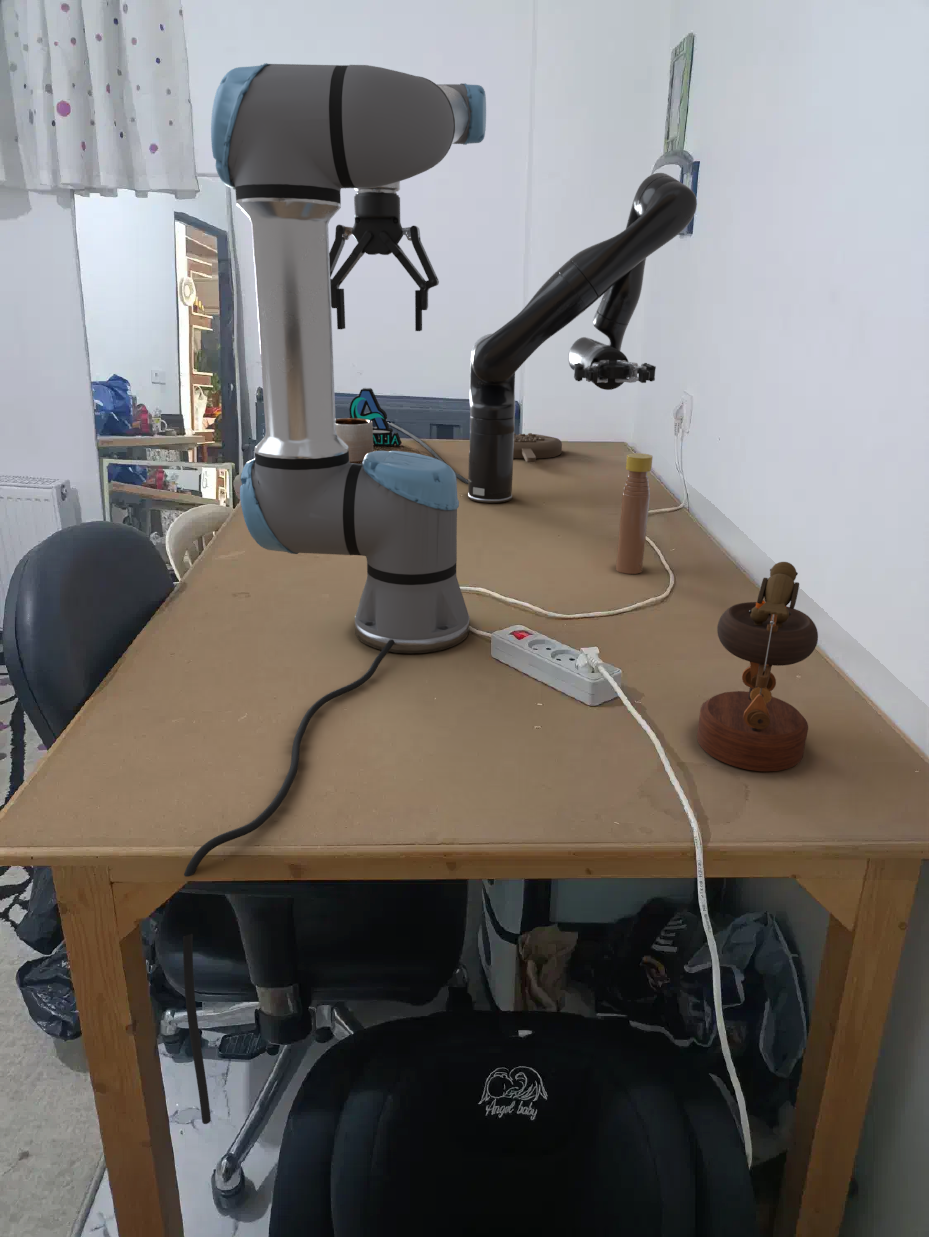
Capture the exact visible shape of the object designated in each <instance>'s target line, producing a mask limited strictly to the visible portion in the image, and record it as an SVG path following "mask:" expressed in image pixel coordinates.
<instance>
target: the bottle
mask: <svg viewBox="0 0 929 1237" xmlns="http://www.w3.org/2000/svg"><path fill="white" fill-rule="evenodd" d="M626 478H627V479H626V480H625V483H624V486H623V489H622V495H621V506H620V518H619V530H618V540H617V551H616V561H615V570H616V571H617V572H619V573H622V574H626V575H636V574H637V575H638V574H640V573H642V572H643V569H644V568H643V567H644V558H645V557H644V556H645V548H646V538H647V529H648V518H649V508H650V498H651V494H650V492H651V489H650V485H649V482H650V481H649V476H648V472H634V471H629V470H628V475H627V477H626Z"/></svg>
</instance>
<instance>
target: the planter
mask: <svg viewBox="0 0 929 1237" xmlns="http://www.w3.org/2000/svg"><path fill="white" fill-rule="evenodd" d="M335 420H336V434H337V435H338V437H339V438H340V439H341V440H342V441H343V442H344V443H345V444H346V445H347V446H348V448H349V462H350V463H354V464H362V462H363V460H364V458H365V456H366V455H367V454H368V453H370V452H374V450H375V449H374V444H373V427H374V426H373V421H371V420H368V419H362V418H350V417H342V418H341V417H340V418H335Z"/></svg>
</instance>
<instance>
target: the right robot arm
mask: <svg viewBox="0 0 929 1237" xmlns="http://www.w3.org/2000/svg"><path fill="white" fill-rule="evenodd" d="M697 206H698V199H697V196H696V194H695V192H694V191H693V190H692V189H691V188H690V187H689V186H687V185H686V184H684V183H682V182H681V181H679V180H678V179H676V178H674V177H673V176H671V175H669V174H667V173H664V172H655V173H652V174H651V175H648V176H647V177H646V178H645V179H644V180H643V181H642V182H641V183H640V185H639V186H638V188H637V190H636V192H635V195H634V198H633V201H632V204H631V208H630V211H629V214H628V218H627V222H626V227H625V229H624V230H622V231H621V232H619V233H618V234H617V235H614V236H612V237H610V238H608V239H605V240H603V241H600V242H598V243H595V244H593V245H591V246H589V247H586V248H584V249H582V250H580V251H579V252H577V253H575V254H573V256H572V257H570V258H569V259H568V260H567V261H566V262H565V263H564V264H562V265H561V266H560V267H559V268H558V269H557V270H556V271H555V272H553V274H552V275H550V277H549V278H548V279H547V280H546V281H545V282H544V283H543V284H542V285H541V287H540V288H539V289H537V291H536V292H535V294H534V295H533V296H532V298H531V299H530V300H529V301H528V303H527V304H526V305H525V306H524V307H523V308H522V310H520V312H518V313H517V315H515V316H514V317H513V318H511V319H510V320H509V321H507V323H505V324H504V325H503V326H502V327H500V328H498V329H497V330H496V331H494V332H493V333H488V334H484V335H483V336H481V337H480V338H478V339H477V340H476V341H475V343H474V344H473V346H472V349H471V350H470V351H471V352H470V360H469V361H470V362H469V363H470V364H469V372H470V373H469V443H468V444H469V446H468V447H469V451H468V476H467V477H468V478H465V477H464V476H463V475H461V474H460V473H458V472H456V470H455V469H453V471H454V473H455V475H456V479H458V480H459V481H461V482H462V483H464V484H465V485H467V498H468V499H469V500H470V501H473V502H478V503H484V504H500V503H506V502H509V501H511V500H512V499H513V472H514V471H513V470H514V458H513V448H514V433H515V420H516V416H515V415H516V392H515V391H516V390H515V389H516V386H515V385H516V373H517V371H518V370H519V368H520V367H522V365H523V364H524V363H525V362H526V361H527V360H528V359H529V358H530V357H531V356H532V355H533V354H534V352H535V351H537V349H539V348H540V347H541V346H542V345H543V344H544V343H545V342H546V341H548V339H550V338H551V337H553V336H554V335H555V334H557V333H558V332H560V331H561V330H562V329H564V328H565V327H566V326H568V325H569V324H570V323H572V321H574V320H575V319H576V318H578V317H579V316H580V315H582V314H583V313H584V312H585V311H587V309H589V308H590V307H591V306H592V305H593V304H594V303H595V302H596V301H598V300H599V299H601V300H600V302H599V305H598V307H597V308H596V310H595V314H594V316H593V319H592V326H593V327H594V328H595V329H596V330H597V331H599V332H600V333H601V334H603V335H604V336H606V337H607V339H608V340H609V341H608V342H609V343H608V344H605V343H603V342H600V341H597V340H595V339H592V338H590V337H586V336H583V337H580V338H577V340H575V341H574V342H573V343H572V345H571V347H570V348H569V352H568V358H567V361H568V365H569V367H570V368H571V370H573V371H574V372H573V378H574V380H575V381H577V382H581V381H583V379H585V381H586V382H588V383H592V384H594V385H595V386H596V387H598V388H599V389H601V390H606V391H612V390H615V389H618V388H620V387H621V386H622V385H623V384H624V383H630V384H633V383H636V382H639V383H641V384H646V383H647V381H649V382H654V381H655V380H656V369H657V366H656V365H653V364H650V363H647V362H644V363H641V364H640V365H639V364H638V362H632V361H629V359H628V357H627V356H626V354H625V353H624V352H622V351H621V350H622V345H623V340H624V337H625V333H626V330H627V328H628V325H629V323H630V321H631V319H632V317H633V315H634V312H635V310H636V308H637V306H638V304H639V301H640V298H641V294H642V288H643V284H644V282H643V281H644V275H645V267H646V261H647V258H648V257H649V256H650V255H652V254H654V253H655V252H657V251H658V250H659V249H661V248H662V247H663V246H665V245H666V244H668V243H669V242H670V241H672V240H673V239H675V238H676V237H677V236H679V235H680V234H681V233H682V232H684V230H685V229H686V228H687V227H688V225H689V224H690V223H691V221H692V220H693V219H694V216H695V214H696V212H697ZM387 423H388V425H389V427H391V428H394V429H396V430H398V431H400V432H402V433H403V434H404V435H407V436H409V437H410V438H411V439H413V440H414V441H416V442H417V443H418V444H420V445H421V446H422V447H423V448H425V449H426V450H427V451H428V453H429V454H431V455H432V456H433V458H435V459H438V460H440V461H442V462H444V463H446V461H445V460H444V459H442V457H440V455H439V454H437V453H436V452H435V450H434V449H432V448H431V447H430V446H429V445H427V443H426V442H424V441H423V440H422V439H420V438H419V437H417V436H416V435H414V434H413V433H411V432H410V431H409V430H407V429H404V428H403V427H401V426H399V425H397V424H395V423H393V422H391V423H389V422H387ZM446 464H447V465H449V464H448V463H446Z"/></svg>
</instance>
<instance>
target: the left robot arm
mask: <svg viewBox="0 0 929 1237" xmlns="http://www.w3.org/2000/svg"><path fill="white" fill-rule="evenodd" d="M210 119H211V122H210V138H211V139H210V140H211V141H210V142H211V151H212V157H213V159H214V160H215V170H216V172H217V175H218V177H219V179H220V181H221V182H222V183H223V184H224V185H225V186H227V187H228V188H232V189H233V190H234V191H235V204H236V206H237V207H238V208H240V209H241V211H242V212H243V213H244V214H245V215H246V216H247V218H249V221H250V222H251V233H252V234H251V235H252V249H253V262H254V263H253V264H254V278H255V292H256V307H257V322H258V337H259V353H260V366H261V367H260V368H261V381H262V382H261V383H262V396H263V411H264V412H263V413H264V427H265V435H264V436H263V438H262V439H260V441H259V442H258V443H257V444H256V446H254V458H253V459H251V460H249V461H247V462H246V463H245V464H244V466H243V468H242V470H241V475H240V482H241V485H240V486H239V500H240V506H241V511H242V515H243V519H244V523H245V526H246V528H247V530H248V533H249V535H250V536H251V537H252V539H253V540H254V541H255V542H256V544H257V545H258V546H260V547H261V548H263V549H265V550H267V551H272V552H273V551H274V552H283V553H288V554H292V555H298V554H312V555H313V554H316V555H317V554H318V555H338V556H340V555H341V556H362V557H365V558H366V579H365V584H364V586H363V589H362V592H361V596H360V600H359V602H358V606H357V609H356V612H355V615H354V633H355V636H356V638H357V639H358V640H359V641H360V642H362V643H363V644H365V645H367V646H368V647H371V648H374V649H377V650H380V651H379V653H378V654H377V655H376V657H375V658H374V660H373V662H371V665H370V667H369V668H368V670H367V671H366V672H365V673H364V674H363V675H362V676H361V677H359V678H358V679H357V680H355V681H353V682H351V683H349V684H347V685H344V686H342V687H340V688H337V689H335V690H333V691H331V692H329V693H327V694H325V695H324V696H322V697H320V699H318V700H317V701H315V703H313V704H312V705H311V706H310V707H309V709H308V710H307V711H306V713H304V715H303V717H302V720H301V721H300V723H299V726H298V728H297V730H296V733H295V735H294V739H293V742H292V748H291V760H290V765H289V769H288V772H287V775H286V776H285V779H284V781H283V782H282V785H281V786H280V788H279V791H278V792H277V794H276V795H275V797H274V798H273V799H272V801H271V802H270V803H269V804H268V806H267V807H266V808H265V809H264V810H263V811H262V812H260V814H259V815H258V816H257V817H256V818H255V819H253V820H252V821H251V822H248V823H247V824H245V825H243V826H240V827H237V828H234V829H232V830H229V831H226V832H223V833H220V834H219V835H217V836H214V837H213V838H211V839H209V840H208V841H206V842H205V843H204V844H203V845H202V846H201V847H199V849H198V850H197V851H196V852H195V853H194V855H193V856H192V858H191V859H190V861H189V862H188V864H187V866H186V867H185V868H186V869H184V870H185V871H184V874H183V876H184V877H186V878H187V877H188V878H189V877H192V876H193V875H194V874H195V873H196V871H197V868H198V867H199V865H200V863H202V860H203V859H204V858H205V856H207V855H208V853H210V852H211V851H212V850H213V849H215V848H217V847H218V846H221V845H222V844H224V843H228V842H230V841H232V840H236V839H239V838H242V837H243V836H246V835H248V834H250V833H252V832H254V831H255V830H257V829H258V828H260V827H261V826H262V825H263V824H264V823H265V822H266V821H267V820H268V819H270V817H271V816H272V815H273V814H274V813H275V812H276V811H277V810H278V809H279V807H280V806H281V805H282V803H283V802H284V801H285V798H286V797H287V795H288V793H289V791H290V789H291V787H292V786H293V782H294V781H295V778H296V775H297V773H298V768H299V764H300V752H301V751H300V749H301V742H302V741H303V737H304V735H305V732H306V730H307V728H308V725H309V723H310V721H311V719H312V718H313V717H314V715H315V714H316V713H317V711H318V710H319V709H320V708H321V707H323V706H324V705H325V704H326V703H328V702H330V701H332V700H333V699H335V698H338V697H339V696H340V697H341V696H342V695H344V694H347V693H349V692H351V691H353V690H356V689H357V688H359V687H361V686H362V685H363V684H365V683H366V682H367V681H369V680H370V679H371V678H372V676H373V675H374V674H375V673H376V671H377V669H378V668H379V665H380V664H381V662H382V661H383V659H384V658H385V657H386V655H387V654H388V653H389V652H390V653H396V654H397V653H398V654H425V653H433V652H439V651H443V650H446V649H449V648H452V647H455V646H457V645H458V644H460V643H462V642H463V641H464V640H466V639H467V637H468V636H469V634H470V615H469V612H468V608H467V606H466V601H465V599H464V596H463V593H462V589H461V586H460V583H459V581H458V577H457V561H458V560H457V559H458V558H457V557H458V556H457V554H458V552H457V551H458V550H457V547H458V541H457V539H458V538H457V535H458V533H457V532H458V523H457V522H458V508H459V507H460V501H459V499H458V482H457V481H458V480H457V479H458V478H457V477H456V475H455V473H454V471H455V470H454V469H453V467H451V466H450V465H449V464H448V463H447V462H445V461H444V462H445V463H444V462H442V461H440V460H438V459H436V458H435V457H432V456H429V455H425V454H421V453H416V452H410V451H402V450H390V451H387V450H375V451H374V452H370V453H368V454H367V455H366V456H365V458H364V460H363V462H362V463H350V462H349V448H348V446H347V445H346V444H345V443H344V442H343V441H342V440H341V439H340V438H339V437H338V435H337V434H336V420H335V419H336V400H335V399H336V398H335V396H336V394H335V371H334V370H335V366H334V341H333V316H332V309H336V325H337V326H336V329H337V330H345V329H346V311H345V310H346V309H345V307H346V306H345V289H344V288H340V286H341V285H342V283H344V281H345V279H346V278H347V277H348V275H349V274H350V272H351V271H352V270H353V269H354V267H355V266H356V265H357V264H358V262H359V261H360V259H361V258H363V256H364V255H365V254H367V255H371V256H376V255H381V256H389V255H391V254H392V255H393V256H394V257H395V258H396V259H397V260H398V262H399V263H400V264H401V265H402V268H404V269H405V271H406V273H408V275H409V276H410V277H411V279H412V280H413V281H414V283H415V285H417V286H418V288H419V289H416V290H414V303H415V304H414V308H415V309H414V310H415V312H414V317H415V318H414V320H415V321H414V322H415V324H414V326H415V328H414V329H415V332H422V331H423V311H427V310H428V308H429V291H430V289H431V288H434V287H437V286H439V285H440V280H439V278H438V276H437V274H436V271H435V268H434V267H433V265H432V263H431V260H430V258H429V255H428V253H427V251H426V249H425V247H424V245H423V243H422V241H421V232H420V227H419V226H417V225H411V226H408V227H403V226H402V223H401V197H400V195H399V194H398V193H397V192H399V191H400V190H401V182H402V181H406V180H409V179H410V178H414V177H416V176H418V175H420V174H423V173H424V172H427V171H429V170H431V169H432V168H434V167H436V166H437V165H438V164H440V163H441V161H443V159H444V158H445V157H446V156H447V155H448V153H449V151H450V149H451V147H452V145H463V146H467V145H469V144H470V145H471V144H480V143H482V142H483V141H484V139H485V137H486V130H487V128H486V127H487V97H486V91H485V88H484V87H483V86H482V85H479V84H468V83H465V82H464V83H459V84H458V83H449V84H446V83H444V84H440V83H439V84H438V83H437V84H436V82H435V81H432V80H430V79H429V78H426V77H424V76H418V75H415V74H409V73H406V72H403V71H399V70H394V69H390V68H385V67H381V66H375V65H368V64H349V65H348V64H347V65H346V64H343V65H341V64H340V65H339V64H298V63H297V64H295V63H294V64H293V63H292V64H291V63H285V64H284V63H267V62H265V63H263V64H260V65H252V66H239V67H234V68H232V69H230V70H229V71H228V72H227V73H226V74H224V76H223V77H222V78H221V80H220V83H219V85H218V87H217V89H216V92H215V96H214V99H213V104H212V110H211V118H210ZM342 189H354V190H355V191H356V192H357V193H355V195H354V196H353V204H354V206H353V207H354V224H353V226H346V225H343V224H337V225H336V226H335V235H334V240H333V243H332V245H331V248H330V238H329V237H330V236H329V234H330V233H329V223H330V222H331V220H332V218H333V217H334V216H335V215H336V214H337V213H338V212H339V211H340V209H341V207H342V205H341V204H342V201H341V200H342V198H341V192H342V191H341V190H342ZM351 235H352V236H353V237H354V239H355V240H356V242H357V243H356V245H355V246H354V248H353V249H352V251H351V253H350V254H349V256H347V258H346V259H345V261H344V262H343V263H342V265H341V266H340V268H339V269H338V271H337V272H336V273H335V274H334V276H333V273H334V271H335V269H336V265H337V263H338V261H339V258H340V256H341V253H342V252H343V249H344V247H345V244H346V241H348V240H349V239H350V238H351ZM403 236H405V237H406V239H407V241H409V242H411V244H412V246H413V249H414V251H415V253H416V255H417V258H418V260H419V262H420V265H421V266H422V268H423V271H424V274H425V275H426V278H427V279H428V280H426V279H425V278H424V277H423V275H422V274H421V273H420V271H419V270H418V269H417V267H416V266H415V265H414V264H413V262H412V261H411V260H410V258H409V257H408V256H407V255H406V253H405V252H404V250H403V249H402V247H401V246H400V245H399V243H400V241H401V240H402V238H403ZM332 276H333V277H332ZM447 464H448V465H447ZM453 470H454V471H453ZM193 938H194V935H193V933H190V934H186V935H182V955H183V957H182V958H183V983H184V997H185V1008H186V1017H187V1024H188V1025H187V1026H188V1032H189V1039H190V1045H191V1051H192V1057H193V1058H192V1059H193V1064H194V1071H195V1076H196V1084H197V1091H198V1098H199V1099H198V1100H199V1107H200V1115H201V1123H202V1124H203V1125H208V1124H210V1123H211V1121H212V1117H211V1108H210V1101H209V1092H208V1084H207V1078H206V1077H207V1076H206V1070H205V1064H204V1057H203V1050H202V1044H201V1037H200V1030H199V1023H198V1022H199V1021H198V1014H197V1006H196V993H195V980H194V979H195V976H194V953H193V952H194V951H193V950H194V949H193V947H194V946H193V944H194V941H193V940H194V939H193Z"/></svg>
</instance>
